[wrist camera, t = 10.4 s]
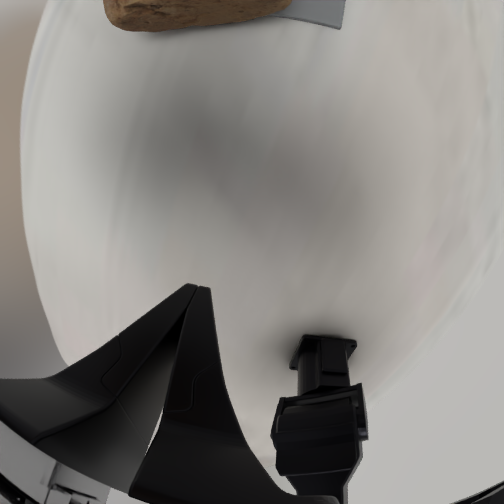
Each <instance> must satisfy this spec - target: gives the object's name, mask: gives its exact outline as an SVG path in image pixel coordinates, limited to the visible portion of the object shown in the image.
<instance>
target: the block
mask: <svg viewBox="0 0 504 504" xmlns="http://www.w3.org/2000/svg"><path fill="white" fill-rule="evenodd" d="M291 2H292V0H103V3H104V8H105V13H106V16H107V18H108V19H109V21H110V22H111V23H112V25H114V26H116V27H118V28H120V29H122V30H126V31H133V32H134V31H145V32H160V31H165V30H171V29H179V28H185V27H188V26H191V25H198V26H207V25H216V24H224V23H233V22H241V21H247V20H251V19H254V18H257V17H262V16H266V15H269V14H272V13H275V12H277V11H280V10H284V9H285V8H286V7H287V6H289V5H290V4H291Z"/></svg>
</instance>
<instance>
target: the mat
mask: <svg viewBox="0 0 504 504" xmlns="http://www.w3.org/2000/svg"><path fill="white" fill-rule="evenodd" d="M345 1H346V0H292V2H291V4H290V5H289V6H287V7H286V8H285V9H284V10H280V11H277V12H275V13H272V14H269V16H276V17H283V18H289V19H295V20H300V21H305V22H310V23H315V24H319V25H324V26H328V27H332V28H335V29H339V30H340V29H341V27H342V21H343V14H344V8H345Z"/></svg>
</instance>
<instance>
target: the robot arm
mask: <svg viewBox="0 0 504 504" xmlns="http://www.w3.org/2000/svg"><path fill="white" fill-rule="evenodd" d="M356 347H357V342H356V341H352V340H342V339H333V338H325V337H317V336H309V335H305V336H303V337H302V339H301V341H300V343H299V345H298V348H297V350H296V352H295V354H294V356H293V358H292V360H291V363H290V365H289V368H290V369H291V370H298V396H294V397H280V400H279V404H278V406H277V409H276V413H275V417H274V421H273V425H272V429H271V434H270V437H271V439H272V440H273V445H274V447H275V449H276V451H277V452H276V469H277V471H278V473H279V475H280V476H286V478H287V479H288V481H289V482H290V483H291V485H292V486H293V487H294V489H295V490H296V492H297V495H292V494H289V493H286V492H285V491H283V490H281V489H280V488H279V487H278V486H277V485H276V484H275V482H274V481H273V480H272V478H271V477H270V476H269V474H268V473H267V472H266V470H265V469H264V468H263V466H262V465H261V463H260V462H259V461H258V459H257V458H256V456H255V455H254V454H253V452H252V451H251V449H250V447H249V446H248V444H247V442H246V440H245V437H244V435H243V433H242V430H241V428H240V425H239V423H238V420H237V417H236V415H235V412H234V409H233V406H232V404H231V401H230V398H229V395H228V392H227V388H226V385H225V380H224V376H223V370H222V364H221V359H220V352H219V346H218V339H217V332H216V325H215V318H214V311H213V304H212V296H211V289H210V288H209V287H204V286H199V287H198V286H197V285H194V284H190V283H187V284H185V285H184V286H182V287H181V288H180V289H178V290H177V291H175V292H174V293H173V294H171V295H170V296H169V297H167V298H166V299H165V300H163V301H162V302H161V303H159V304H158V305H157V306H155V307H154V308H153V309H151V310H150V311H149V312H147V313H146V314H145V315H143V316H142V317H141V318H139V319H138V320H136V321H135V322H134V323H132V324H131V325H130V326H129V327H127V328H126V329H125V330H123V331H122V332H121V333H119V336H118V335H116V336H115V337H114V338H112V339H111V340H110V341H108V342H107V343H106V344H104V345H103V346H101V347H100V348H99V349H97V350H96V351H94V352H92V353H91V354H89V355H88V356H86V357H84V358H83V359H81V360H79V361H78V362H76V363H74V364H73V365H71V366H69V367H67V368H66V369H64V370H63V371H61V372H59V373H57V374H55V375H53V376H50V377H46V378H41V379H40V378H39V379H0V504H106V501H107V498H108V495H109V491H110V488H111V487H112V488H114V489H117V490H119V491H122V492H124V493H127V494H128V496H129V497H132V498H135V499H138V500H141V501H143V502H146V503H149V504H348V492H347V491H348V489H347V487H348V483H349V481H350V479H351V478H352V476H353V474H354V473H355V471H356V469H357V467H358V465H359V464H360V462H361V460H362V458H363V453H362V441H365V440H368V421H367V411H366V403H365V397H364V392H363V387H362V383H358V384H357V385H353V386H350V378H349V368H348V361H347V360H348V359H349V357H350V356H351V355H352V353H353V352H354V350H355V349H356ZM163 406H164V407H163ZM162 409H163V414H162V417H161V421H160V425H159V428H158V431H157V433H156V435H155V437H154V439H153V441H152V443H151V445H150V447H149V449H148V445H149V443H150V440H151V438H152V435H153V432H154V430H155V427H156V424H157V422H158V419H159V417H160V414H161V411H162ZM147 449H148V451H147ZM146 451H147V453H146ZM145 454H146V455H145ZM451 504H504V481H502V482H500V483H498V484H496V485H494V486H492V487H490V488H488V489H486V490H483V491H481V492H479V493H477V494H474V495H472V496H469V497H467V498H465V499H462V500H459V501H457V502H454V503H451Z"/></svg>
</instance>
